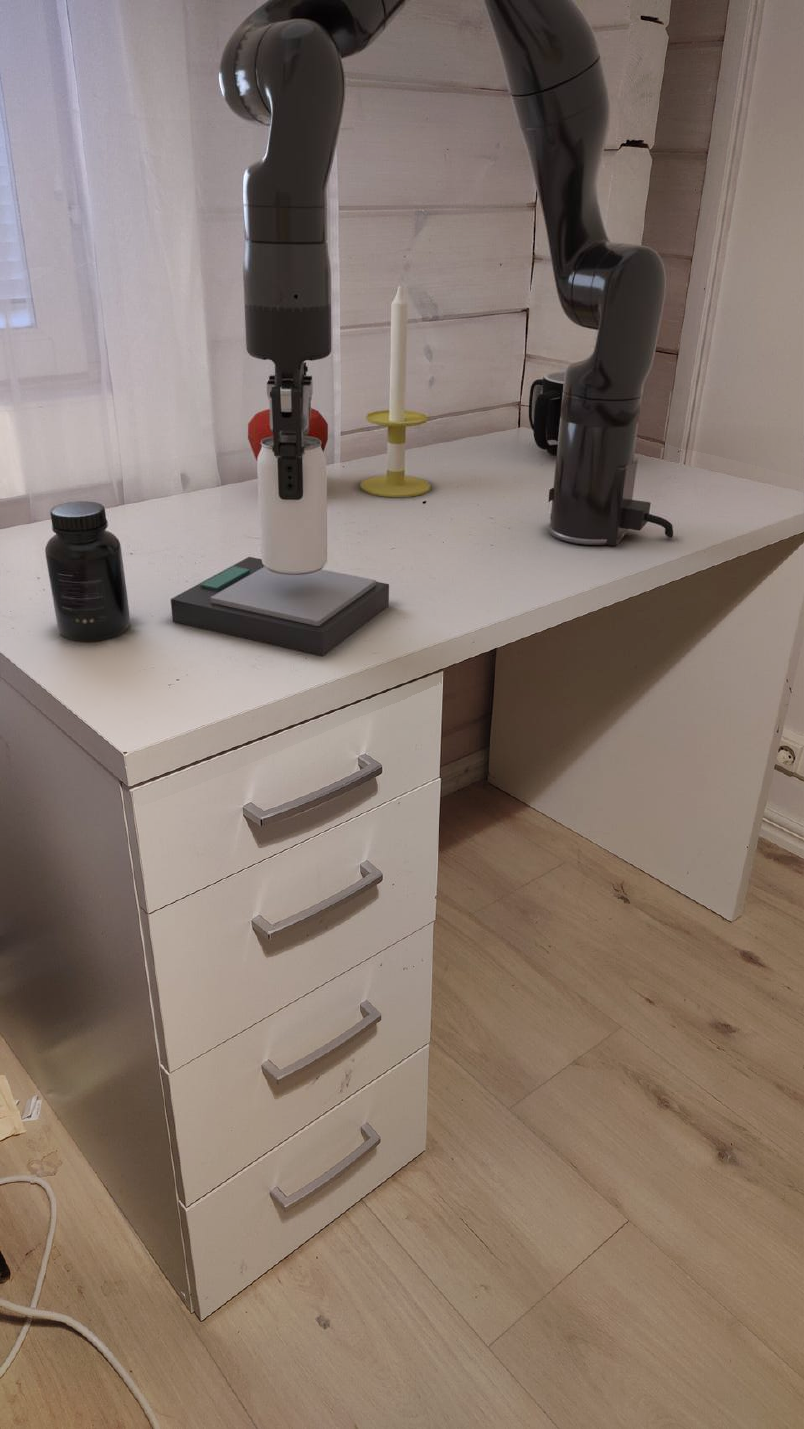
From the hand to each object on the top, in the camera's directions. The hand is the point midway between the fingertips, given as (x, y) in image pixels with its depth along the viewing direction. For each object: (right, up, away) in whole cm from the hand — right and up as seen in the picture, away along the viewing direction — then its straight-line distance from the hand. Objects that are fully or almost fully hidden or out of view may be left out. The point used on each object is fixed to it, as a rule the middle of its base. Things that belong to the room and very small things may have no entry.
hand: (293, 487), depth 95 cm
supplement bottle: (-20, -13, +2) cm, 24 cm away
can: (0, -7, +4) cm, 8 cm away
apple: (-5, +10, +45) cm, 47 cm away
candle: (+9, +11, +48) cm, 50 cm away
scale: (-2, -11, +7) cm, 13 cm away
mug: (+38, +20, +67) cm, 80 cm away
